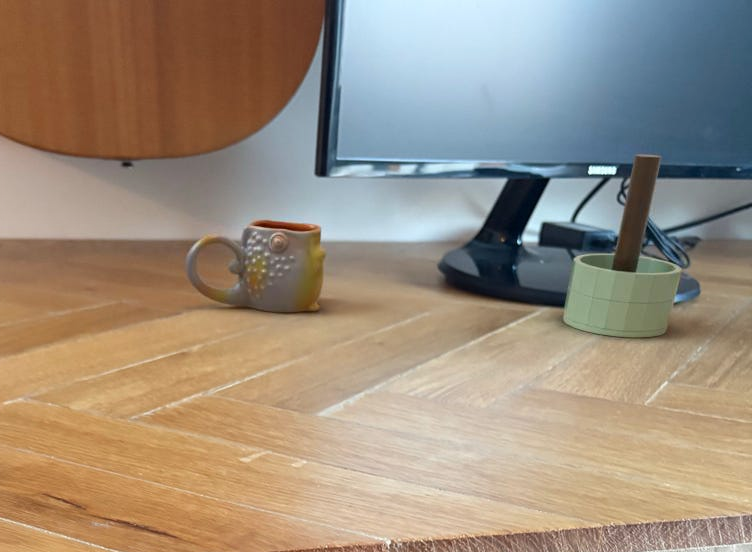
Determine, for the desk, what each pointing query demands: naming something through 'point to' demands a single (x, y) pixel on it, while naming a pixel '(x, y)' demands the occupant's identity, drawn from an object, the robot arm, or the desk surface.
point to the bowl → (621, 296)
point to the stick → (636, 212)
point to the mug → (268, 267)
